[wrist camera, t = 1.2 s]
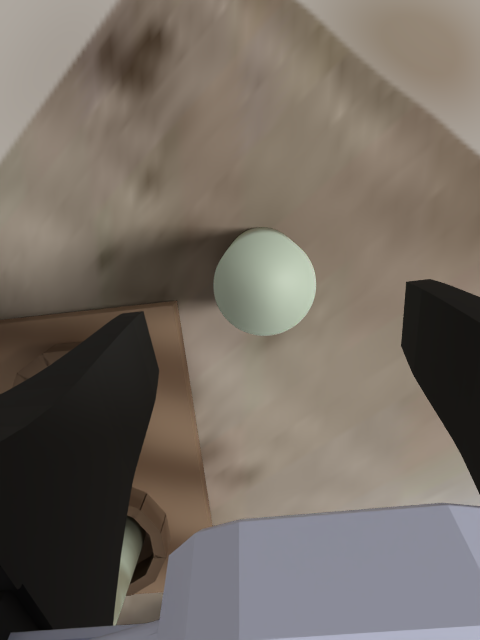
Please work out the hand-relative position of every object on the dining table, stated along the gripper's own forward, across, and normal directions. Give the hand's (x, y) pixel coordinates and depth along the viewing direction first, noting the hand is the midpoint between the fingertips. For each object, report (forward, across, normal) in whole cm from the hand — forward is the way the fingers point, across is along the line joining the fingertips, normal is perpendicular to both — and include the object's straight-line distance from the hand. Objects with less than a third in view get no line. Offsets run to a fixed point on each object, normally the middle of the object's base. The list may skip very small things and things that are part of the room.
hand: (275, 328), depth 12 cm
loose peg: (+12, 0, +3) cm, 12 cm away
